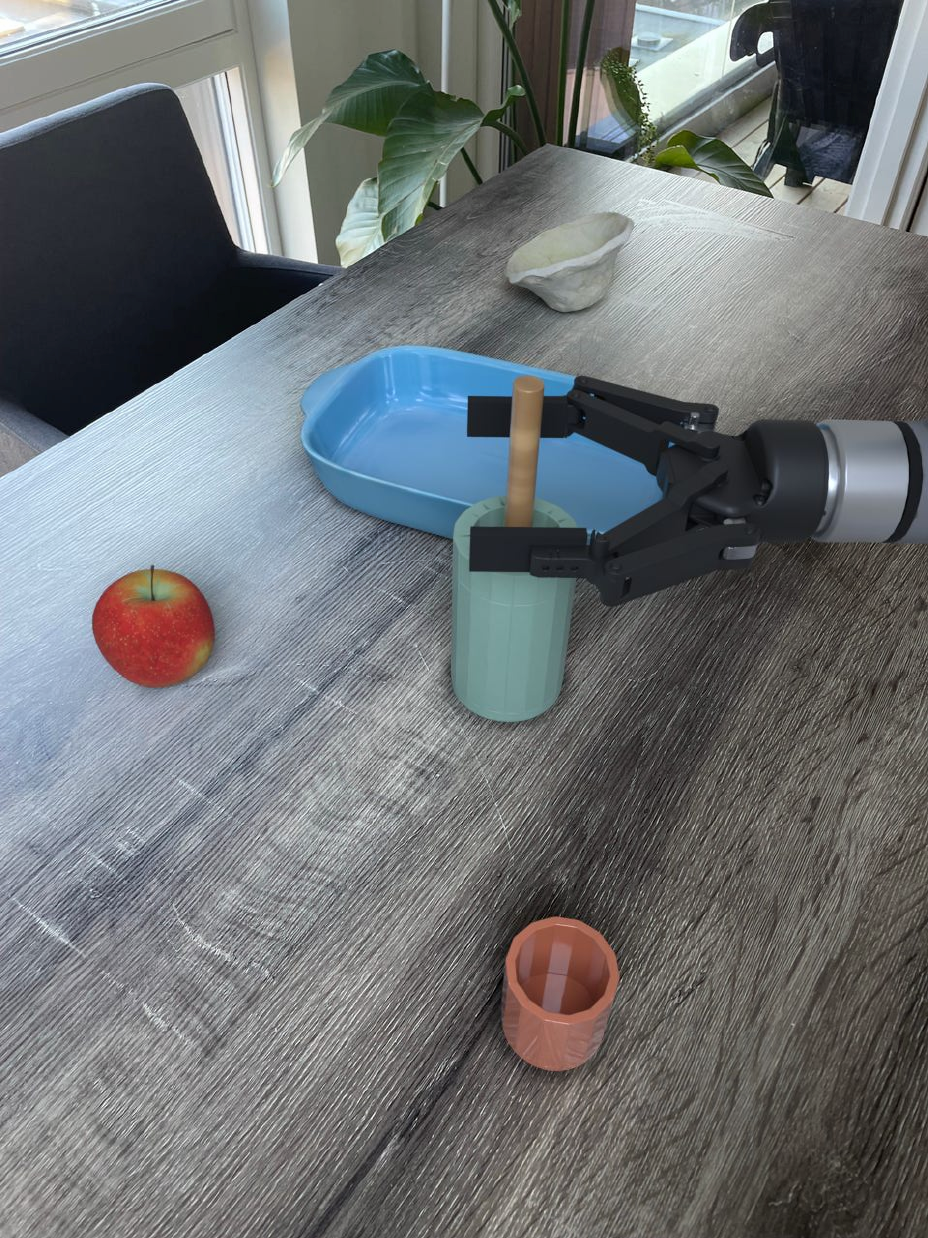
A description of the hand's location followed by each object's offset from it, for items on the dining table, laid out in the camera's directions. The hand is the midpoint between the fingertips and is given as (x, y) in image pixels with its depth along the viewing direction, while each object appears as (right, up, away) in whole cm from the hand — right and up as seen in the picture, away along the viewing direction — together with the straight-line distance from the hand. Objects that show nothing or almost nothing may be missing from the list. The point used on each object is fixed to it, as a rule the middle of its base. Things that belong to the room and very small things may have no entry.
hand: (467, 477), depth 61 cm
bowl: (+11, +28, +56) cm, 64 cm away
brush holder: (+5, -31, -5) cm, 32 cm away
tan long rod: (+3, -12, +12) cm, 18 cm away
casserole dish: (+3, +3, +30) cm, 30 cm away
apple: (-22, -13, +13) cm, 29 cm away
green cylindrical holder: (+3, -13, +13) cm, 19 cm away
